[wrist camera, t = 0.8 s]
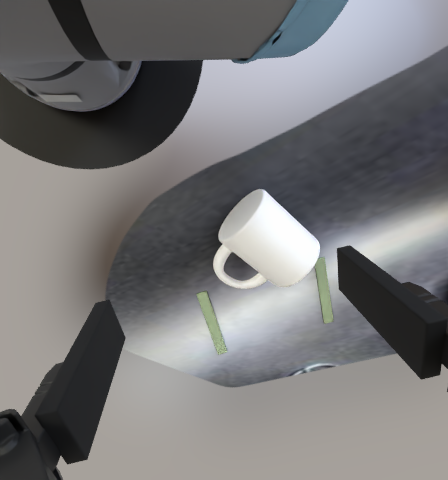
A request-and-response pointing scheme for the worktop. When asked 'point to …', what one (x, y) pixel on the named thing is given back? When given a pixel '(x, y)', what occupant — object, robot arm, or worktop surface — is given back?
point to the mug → (265, 243)
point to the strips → (324, 299)
